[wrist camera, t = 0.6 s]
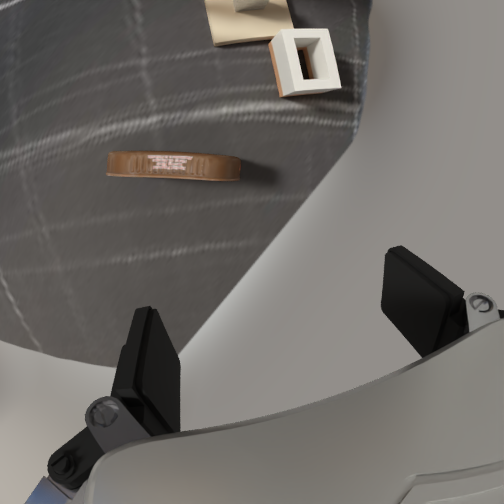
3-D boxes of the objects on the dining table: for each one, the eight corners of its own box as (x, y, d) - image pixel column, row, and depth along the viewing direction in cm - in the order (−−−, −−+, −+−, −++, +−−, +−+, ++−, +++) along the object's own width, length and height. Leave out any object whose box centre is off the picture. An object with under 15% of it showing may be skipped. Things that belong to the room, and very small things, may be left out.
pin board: (201, -13, 23) (201, -18, 22) (275, -19, 24) (278, -24, 22) (214, 46, 27) (214, 43, 26) (291, 38, 28) (295, 34, 27)
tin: (117, 171, 32) (94, 182, 24) (119, 146, 30) (95, 151, 23) (234, 176, 35) (244, 189, 27) (238, 152, 34) (248, 157, 26)
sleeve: (268, 44, 28) (280, 29, 23) (309, 42, 28) (327, 29, 23) (280, 97, 31) (294, 91, 26) (320, 93, 32) (341, 88, 26)
